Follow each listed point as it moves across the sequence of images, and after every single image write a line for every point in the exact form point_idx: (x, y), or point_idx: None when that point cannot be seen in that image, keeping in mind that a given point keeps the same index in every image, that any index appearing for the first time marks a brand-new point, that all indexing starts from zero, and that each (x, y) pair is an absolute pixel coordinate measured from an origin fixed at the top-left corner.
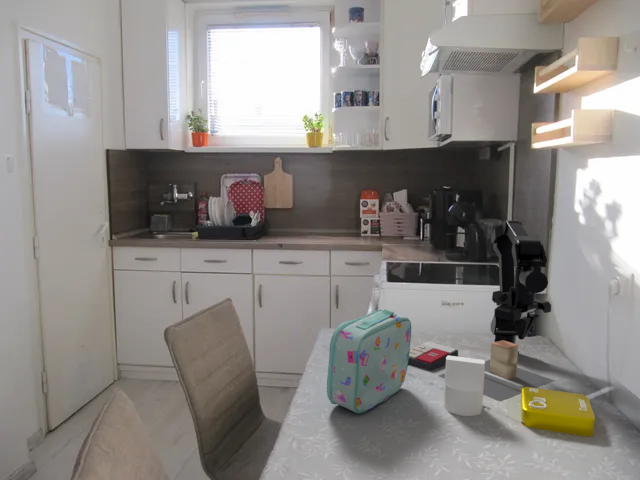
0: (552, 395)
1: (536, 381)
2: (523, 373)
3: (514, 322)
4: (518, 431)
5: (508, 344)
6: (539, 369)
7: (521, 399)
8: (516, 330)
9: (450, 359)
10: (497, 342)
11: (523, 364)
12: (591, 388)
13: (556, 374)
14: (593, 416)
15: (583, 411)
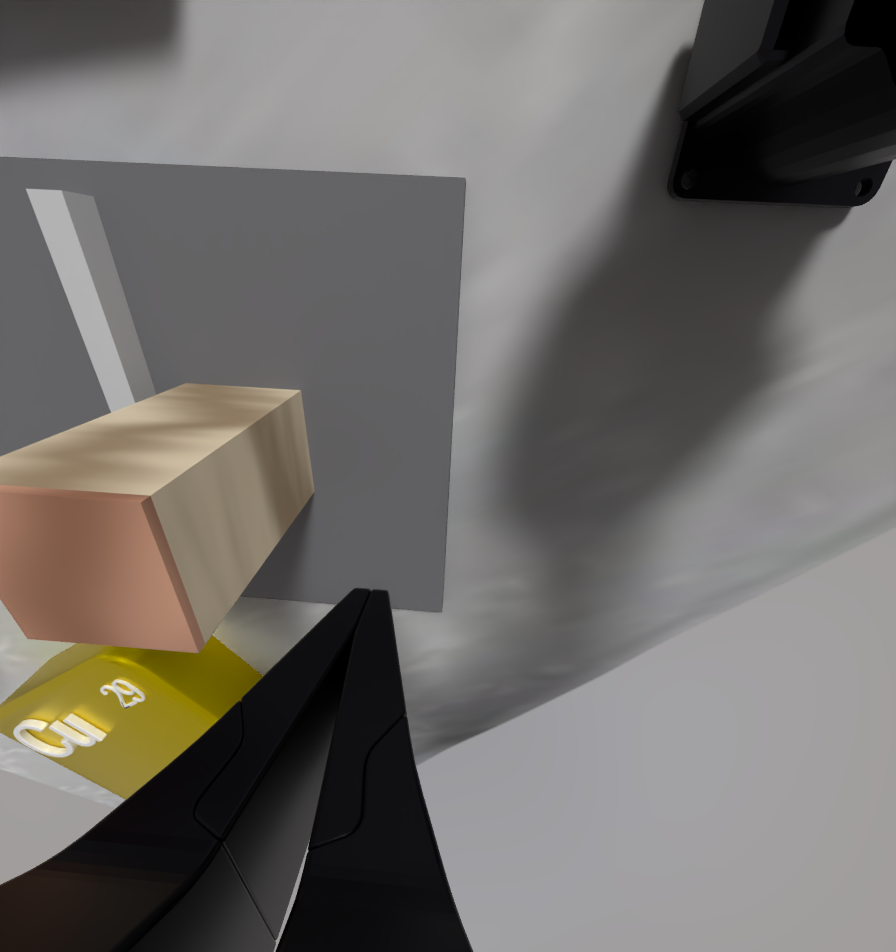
0: (167, 734)
1: (355, 573)
2: (393, 491)
3: (117, 820)
4: (6, 673)
5: (108, 603)
6: (575, 485)
7: (75, 658)
8: (279, 661)
9: None
10: (16, 513)
11: (592, 381)
12: (513, 686)
13: (566, 564)
14: None
15: None
